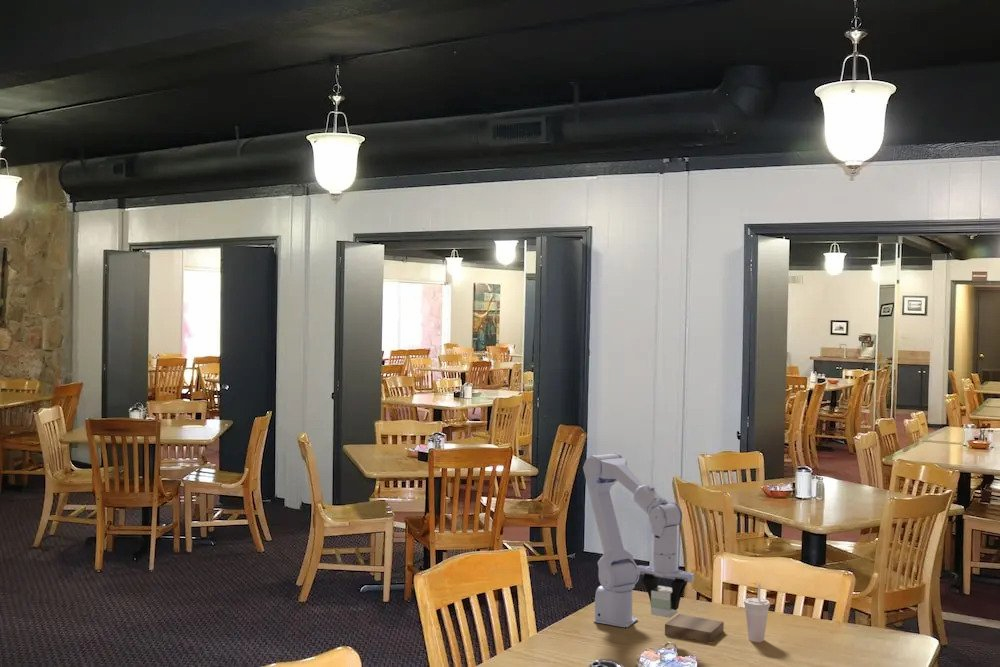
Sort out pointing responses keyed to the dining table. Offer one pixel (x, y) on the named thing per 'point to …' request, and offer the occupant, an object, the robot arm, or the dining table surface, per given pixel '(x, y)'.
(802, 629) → the dining table surface
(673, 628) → the walnut block
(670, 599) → the steel tin
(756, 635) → the smoothie
